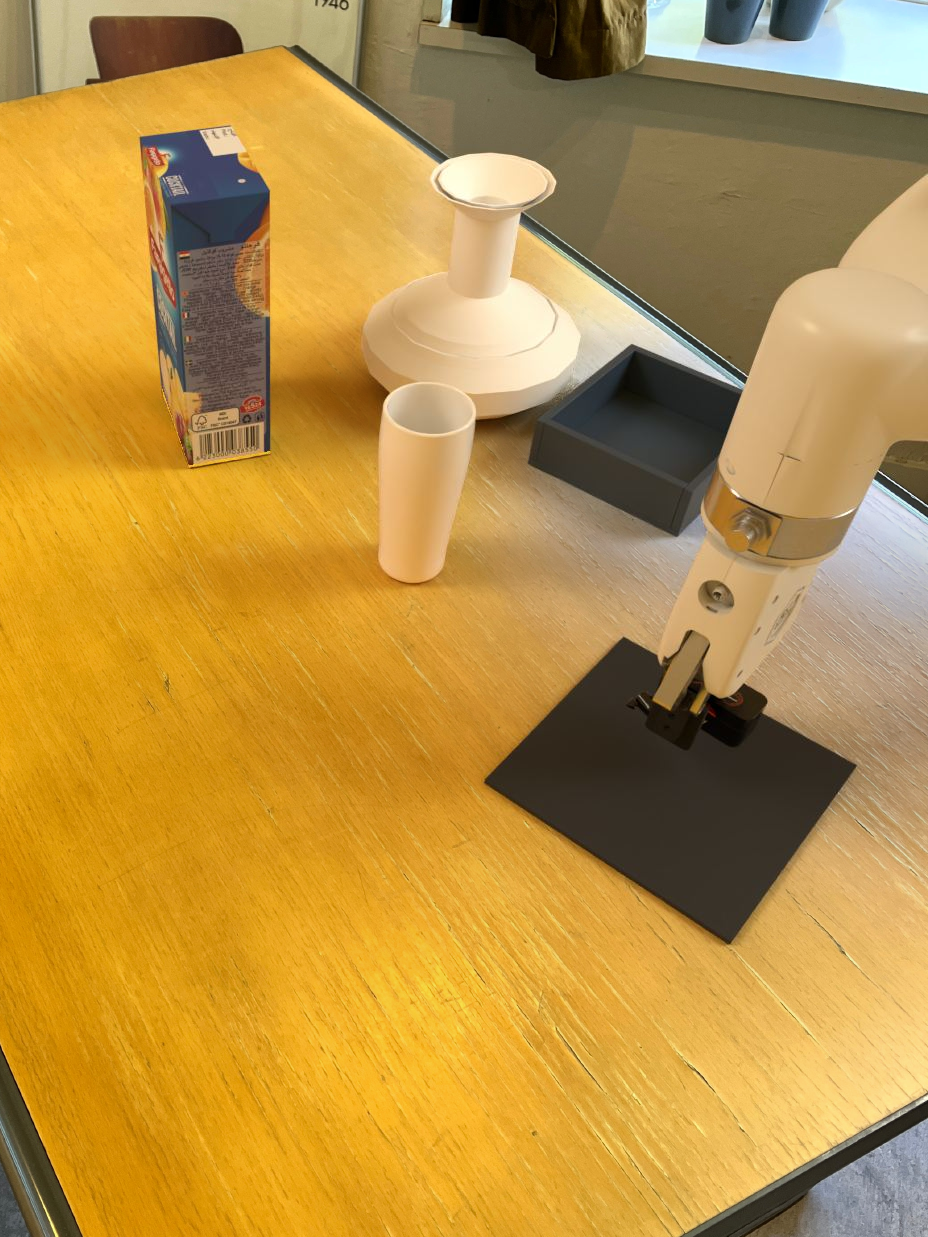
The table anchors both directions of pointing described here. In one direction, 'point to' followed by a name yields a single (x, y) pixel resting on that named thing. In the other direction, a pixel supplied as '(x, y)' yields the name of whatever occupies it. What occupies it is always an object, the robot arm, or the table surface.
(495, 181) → the white ceramic vase shape
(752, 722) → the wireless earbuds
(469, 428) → the drinking glass
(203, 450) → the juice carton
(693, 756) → the mat
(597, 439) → the box
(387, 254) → the table surface
